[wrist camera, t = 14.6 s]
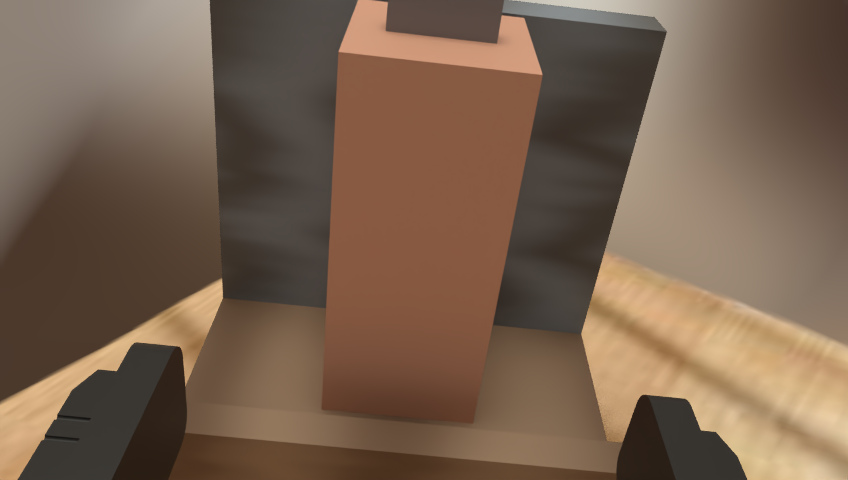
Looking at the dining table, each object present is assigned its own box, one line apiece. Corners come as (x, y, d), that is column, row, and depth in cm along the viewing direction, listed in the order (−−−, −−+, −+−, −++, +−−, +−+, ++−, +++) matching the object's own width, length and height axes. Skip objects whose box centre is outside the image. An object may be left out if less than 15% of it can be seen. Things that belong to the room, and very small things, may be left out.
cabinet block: (468, 327, 29) (533, -34, 22) (472, 423, 25) (555, 13, 17) (339, 314, 29) (361, -55, 21) (321, 409, 24) (341, -12, 17)
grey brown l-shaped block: (546, 413, 34) (654, 17, 24) (579, 622, 25) (763, 144, 16) (237, 383, 33) (222, -34, 24) (167, 587, 25) (101, 71, 15)
